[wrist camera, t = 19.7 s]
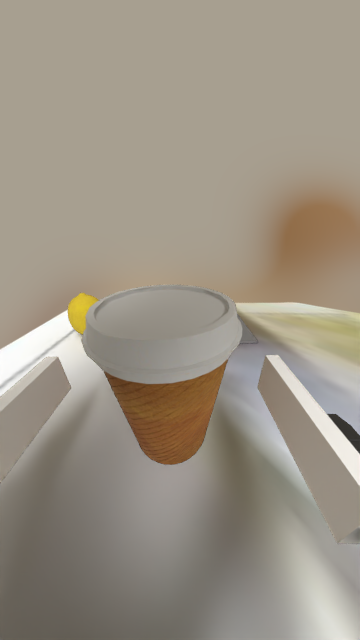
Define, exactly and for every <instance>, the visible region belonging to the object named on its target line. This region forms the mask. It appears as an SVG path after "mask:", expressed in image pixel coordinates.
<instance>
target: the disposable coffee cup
mask: <svg viewBox="0 0 360 640" xmlns="http://www.w3.org/2000/svg"><path fill="white" fill-rule="evenodd" d="M241 337H242V325H241V322H240V321H239V319H238V318H237V310H236V305H235V303H234V301H232V299H231V298H229V297H228V296H226V295H225V294H223V293H220V292H218V291H215V290H212V289H208V288H204V287H197V286H188V285H156V286H145V287H139V288H133V289H129V290H124V291H121V292H117V293H114V294H111V295H109V296H107V297H105V298H102V299H100V300H99V301H97V302H96V303H95V304H93V305H92V306H91V307H90V308H89V310H88V312H87V314H86V329H85V331H84V332H83V337H82V344H83V347H84V350H85V352H86V354H87V356H88V357H90V358H91V359H92V360H93V361H94V362H95V363H96V364H97V365H98V366H99V367H100V368H101V369H102V370H104V373H105V375H106V377H107V378H108V381H109V383H110V385H111V388H112V390H113V391H114V394H115V396H116V398H117V399H118V402H119V404H120V406H121V408H122V410H123V412H124V414H125V416H126V418H127V420H128V422H129V424H130V426H131V428H132V430H133V432H134V434H135V437H136V438H137V441H138V442H139V445H140V447H141V449H142V450H143V452H144V453H145V454H146V455H147V456H148V457H149V458H150V459H152V460H154V461H156V462H158V463H161V464H165V465H172V464H178V463H182V462H184V461H186V460H188V459H189V458H191V457H192V456H193V455H194V454H195V453H196V452H197V451H198V449H199V448H200V447H201V445H202V443H203V441H204V437H205V433H206V430H207V427H208V423H209V420H210V417H211V414H212V411H213V407H214V403H215V400H216V397H217V394H218V390H219V387H220V384H221V380H222V377H223V374H224V370H225V367H226V364H227V361H228V358H229V357H230V355H231V354H232V352H233V351H234V350H235V349H236V348H237V347H238V345H239V342H240V340H241Z"/></svg>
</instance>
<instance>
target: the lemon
mask: <svg viewBox="0 0 360 640" xmlns="http://www.w3.org/2000/svg"><path fill="white" fill-rule="evenodd" d="M97 301H99V300H98V299H97V298H95V297H93V296H91V295H86V294H85V293H80V294H79V295H78V296H77V297H75V298H74V299H72V300H71V302H70V303H69V307H68V318H69V321H70V323H71V325H72V327H73V328H74V329H75V330H76V331H77V332H78V333H80V334H83V332H84V331H85V329H86V314H87V312H88V310H89V308H90V307H91V306H92V305H93V304H95V303H96V302H97Z"/></svg>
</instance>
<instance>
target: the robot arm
mask: <svg viewBox="0 0 360 640" xmlns="http://www.w3.org/2000/svg"><path fill="white" fill-rule="evenodd" d="M70 389H71V386H70V384H69V381H68V379H67V377H66V374H65V372H64V369H63V367H62V365H61V362H60V360H59V358H58V357H46V358H45V359H43V360H42V361H41V362H40V363H39V364H38V365H37V366H35V367H34V368H33V369H32V370H31V371H30V372H28V373H27V374H26V375H25V376H24V377H23V378H22V379H20V380H19V381H18V382H17V383H16V384H15V385H14V386H12V387H11V388H10V389H9V390H8V391H7V392H5V393H4V394H3V395H2V396H1V397H0V483H1V482H2V481H3V479H4V478H5V477H6V475H7V474H8V472H9V471H10V470H11V468H12V467H13V466H14V464H15V463H16V462H17V460H18V459H19V458H20V456H21V455H22V454H23V452H24V451H25V450H26V448H27V447H28V446H29V444H30V443H31V442H32V440H33V439H34V437H35V436H36V435H37V433H38V432H39V431H40V429H41V428H42V427H43V425H44V424H45V423H46V421H47V420H48V419H49V417H50V416H51V415H52V413H53V412H54V411H55V409H56V408H57V407H58V405H59V404H60V402H61V401H62V400H63V398H64V397H65V396H66V394H67V393H68V392H69V390H70ZM258 389H259V391H260V393H261V395H262V397H263V399H264V401H265V403H266V405H267V407H268V409H269V411H270V413H271V415H272V417H273V419H274V421H275V423H276V425H277V427H278V429H279V431H280V432H281V434H282V436H283V438H284V440H285V442H286V444H287V446H288V448H289V450H290V452H291V454H292V456H293V458H294V460H295V462H296V464H297V466H298V468H299V470H300V472H301V474H302V476H303V478H304V480H305V482H306V484H307V486H308V488H309V490H310V491H311V493H312V495H313V497H314V499H315V501H316V503H317V505H318V507H319V509H320V511H321V513H322V515H323V517H324V519H325V521H326V523H327V525H328V527H329V529H330V531H331V533H332V535H333V537H334V539H335V541H336V543H337V544H360V435H359V434H358V433H357V432H356V431H355V430H354V429H353V428H352V426H351V425H349V424H348V423H347V422H345V421H344V420H343V419H342V418H340V417H339V416H338V415H336V414H326V413H325V411H324V410H323V409H322V408H321V407H320V405H319V404H318V403H317V402H316V401H315V399H314V398H313V397H312V396H311V395H310V393H309V392H308V391H307V390H306V388H305V387H304V386H303V385H302V384H301V382H300V381H299V380H298V379H297V378H296V376H295V375H294V374H293V373H292V371H291V370H290V369H289V368H288V367H287V365H286V364H285V363H284V362H283V361H282V359H281V358H280V357H279V356H278V355H266V356H265V360H264V363H263V367H262V371H261V375H260V379H259V383H258Z"/></svg>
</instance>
